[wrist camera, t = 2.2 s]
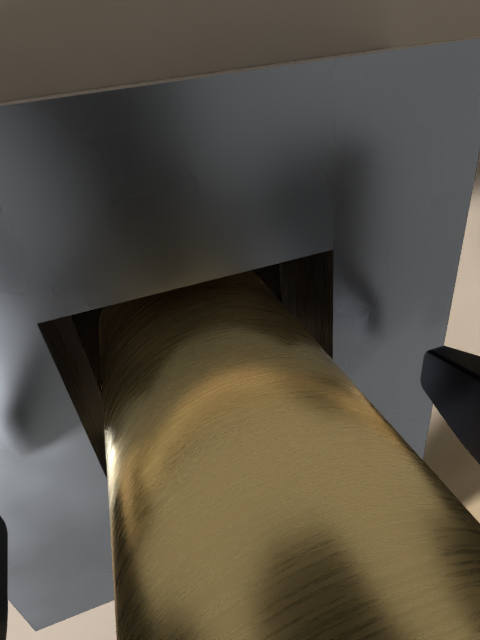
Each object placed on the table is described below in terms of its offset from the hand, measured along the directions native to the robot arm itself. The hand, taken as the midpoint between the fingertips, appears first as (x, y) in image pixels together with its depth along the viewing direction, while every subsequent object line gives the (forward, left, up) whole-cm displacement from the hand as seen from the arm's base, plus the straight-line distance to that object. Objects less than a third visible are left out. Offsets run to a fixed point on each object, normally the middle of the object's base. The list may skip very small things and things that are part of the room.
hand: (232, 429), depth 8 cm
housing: (0, 0, -4) cm, 4 cm away
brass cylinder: (0, 0, -4) cm, 4 cm away
